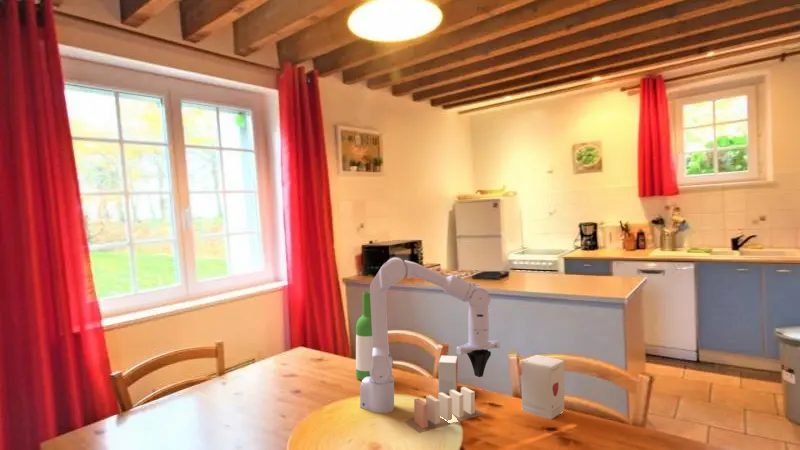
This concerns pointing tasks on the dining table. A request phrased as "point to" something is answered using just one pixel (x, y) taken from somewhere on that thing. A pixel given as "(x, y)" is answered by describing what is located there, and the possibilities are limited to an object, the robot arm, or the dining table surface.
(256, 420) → the dining table surface
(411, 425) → the board
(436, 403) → the domino
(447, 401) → the domino
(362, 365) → the wine bottle
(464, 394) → the domino
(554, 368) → the supplement box
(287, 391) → the dining table surface
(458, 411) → the domino
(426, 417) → the domino
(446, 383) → the small box
